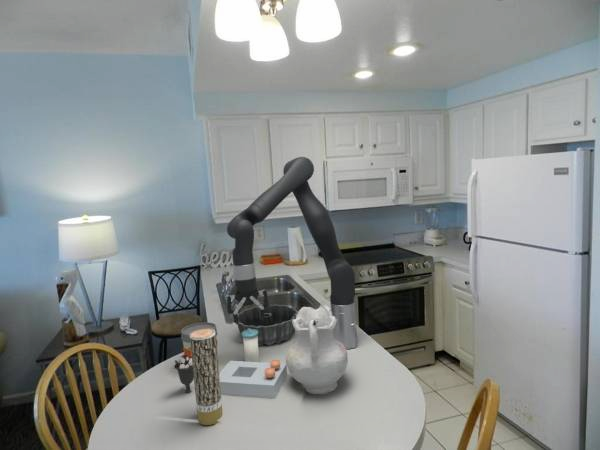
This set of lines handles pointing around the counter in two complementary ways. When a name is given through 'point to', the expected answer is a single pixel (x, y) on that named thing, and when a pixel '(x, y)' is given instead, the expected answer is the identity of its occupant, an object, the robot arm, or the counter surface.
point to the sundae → (185, 370)
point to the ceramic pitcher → (316, 351)
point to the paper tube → (206, 376)
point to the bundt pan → (269, 323)
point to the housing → (251, 379)
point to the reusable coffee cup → (191, 328)
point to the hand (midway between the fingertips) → (249, 321)
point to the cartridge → (251, 345)
